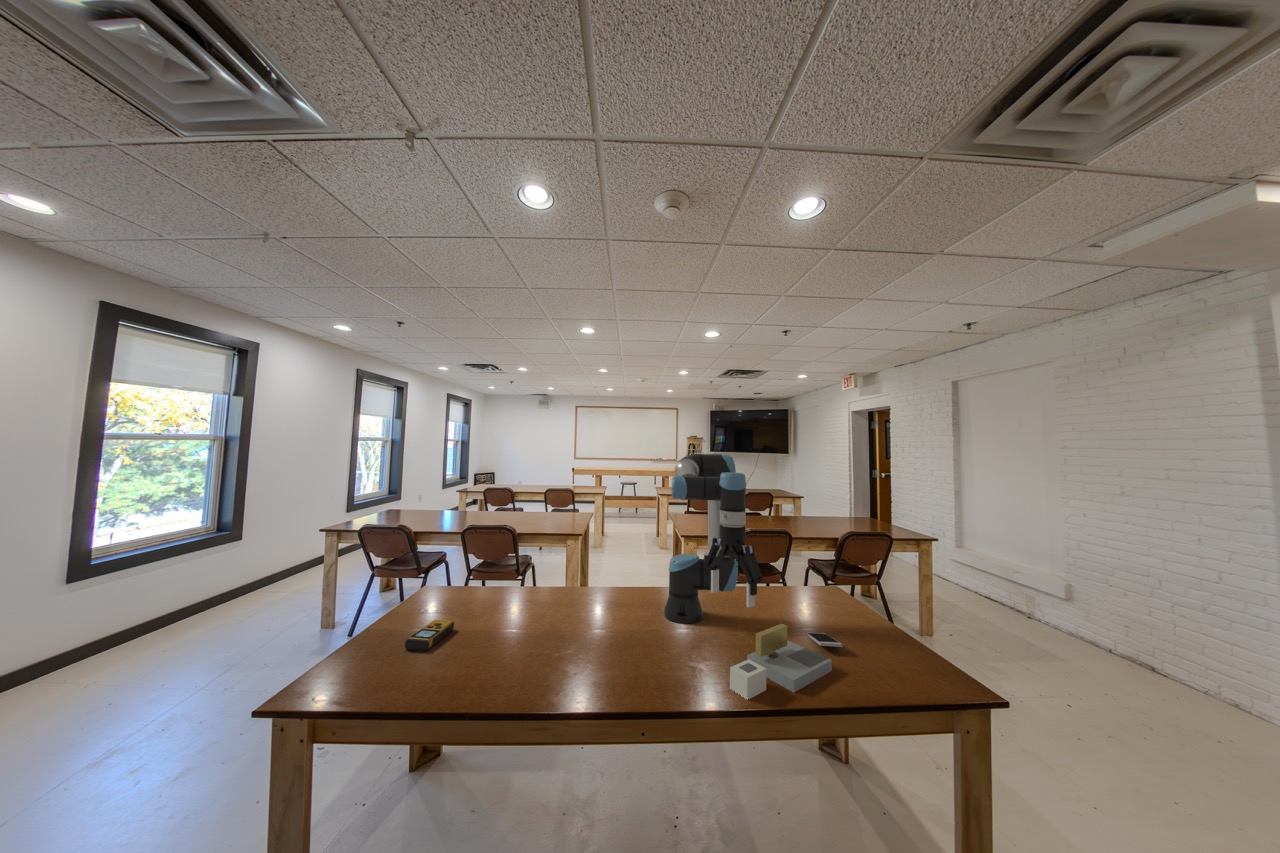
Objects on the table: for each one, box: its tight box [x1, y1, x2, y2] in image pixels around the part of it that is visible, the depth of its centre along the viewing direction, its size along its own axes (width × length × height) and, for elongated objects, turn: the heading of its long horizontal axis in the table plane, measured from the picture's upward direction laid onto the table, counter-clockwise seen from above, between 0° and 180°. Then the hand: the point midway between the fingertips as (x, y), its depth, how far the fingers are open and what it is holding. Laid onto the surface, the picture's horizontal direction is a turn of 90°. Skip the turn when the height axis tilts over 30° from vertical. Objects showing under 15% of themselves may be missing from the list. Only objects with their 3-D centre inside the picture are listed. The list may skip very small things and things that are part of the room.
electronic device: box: [404, 619, 455, 652], centre depth 134 cm, size 8×16×3 cm, turn 175°
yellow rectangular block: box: [755, 623, 788, 657], centre depth 122 cm, size 13×2×7 cm, turn 125°
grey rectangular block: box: [729, 659, 767, 701], centre depth 109 cm, size 6×8×6 cm
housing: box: [746, 639, 833, 693], centre depth 120 cm, size 16×20×4 cm
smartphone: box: [805, 631, 843, 648], centre depth 137 cm, size 7×15×1 cm, turn 175°
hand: (731, 598), depth 116 cm, fingers open, 13 cm apart
